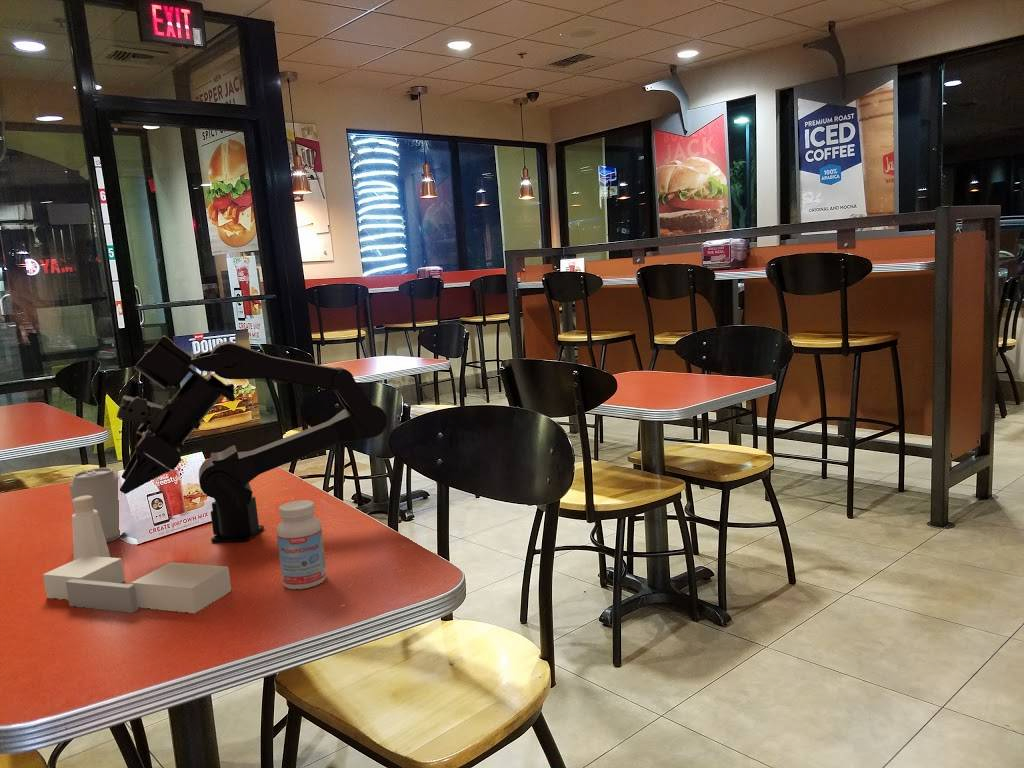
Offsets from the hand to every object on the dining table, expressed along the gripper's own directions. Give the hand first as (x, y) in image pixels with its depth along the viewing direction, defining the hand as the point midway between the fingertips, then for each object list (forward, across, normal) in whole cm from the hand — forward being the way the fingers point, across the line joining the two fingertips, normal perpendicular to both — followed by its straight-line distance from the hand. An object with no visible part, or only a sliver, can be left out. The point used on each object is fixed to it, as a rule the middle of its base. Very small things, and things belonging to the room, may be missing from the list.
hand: (123, 485), depth 119 cm
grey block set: (+8, +18, +8) cm, 22 cm away
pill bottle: (-7, +27, +24) cm, 37 cm away
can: (+12, -14, +5) cm, 19 cm away
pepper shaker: (+13, 0, +4) cm, 13 cm away
